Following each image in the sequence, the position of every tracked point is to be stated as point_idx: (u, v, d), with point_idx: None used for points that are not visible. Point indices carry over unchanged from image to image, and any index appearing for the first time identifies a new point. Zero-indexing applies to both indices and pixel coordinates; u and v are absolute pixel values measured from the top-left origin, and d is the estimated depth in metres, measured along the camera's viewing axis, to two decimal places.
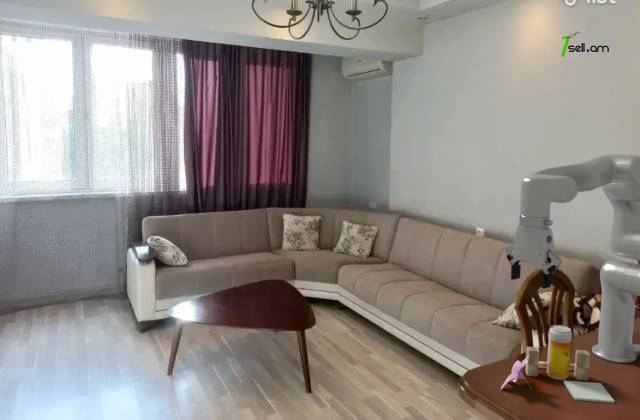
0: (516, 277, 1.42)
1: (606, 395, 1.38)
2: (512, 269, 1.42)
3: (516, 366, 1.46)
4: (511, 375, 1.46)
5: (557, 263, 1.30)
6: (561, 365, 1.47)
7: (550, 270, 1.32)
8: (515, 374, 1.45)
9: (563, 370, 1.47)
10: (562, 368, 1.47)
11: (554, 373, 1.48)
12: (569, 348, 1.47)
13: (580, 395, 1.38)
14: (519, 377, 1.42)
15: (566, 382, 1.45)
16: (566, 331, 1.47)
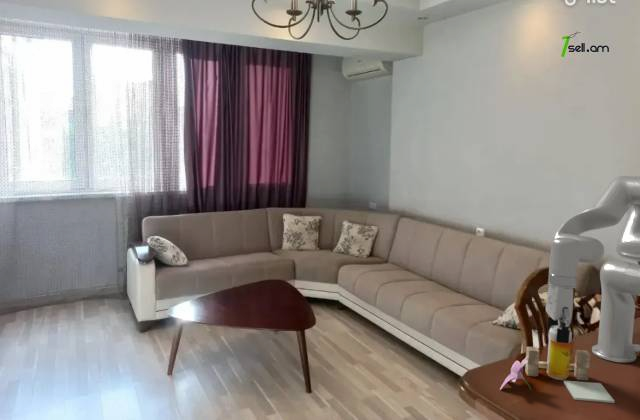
0: None
1: (606, 395, 1.38)
2: None
3: (515, 366, 1.46)
4: (510, 375, 1.46)
5: None
6: (561, 365, 1.47)
7: None
8: (514, 374, 1.45)
9: (563, 370, 1.47)
10: (562, 368, 1.47)
11: (554, 373, 1.48)
12: (569, 348, 1.47)
13: (580, 395, 1.38)
14: (518, 377, 1.42)
15: (566, 382, 1.45)
16: None
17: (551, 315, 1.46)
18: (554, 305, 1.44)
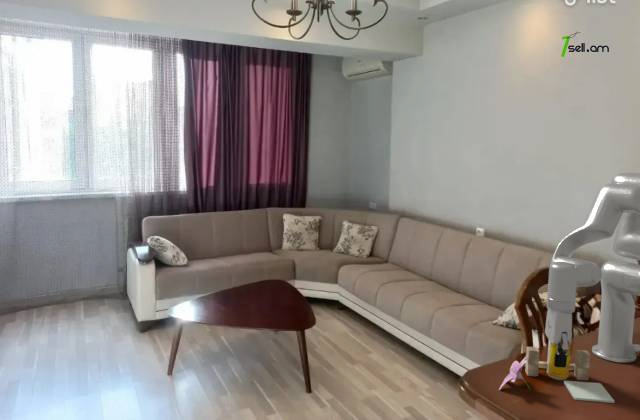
0: None
1: (606, 395, 1.38)
2: None
3: (514, 366, 1.46)
4: (509, 375, 1.46)
5: None
6: None
7: None
8: (513, 374, 1.45)
9: (563, 370, 1.47)
10: (562, 368, 1.47)
11: (554, 373, 1.48)
12: (569, 348, 1.47)
13: (580, 395, 1.38)
14: (517, 377, 1.42)
15: (566, 382, 1.45)
16: None
17: (550, 339, 1.47)
18: (553, 330, 1.45)
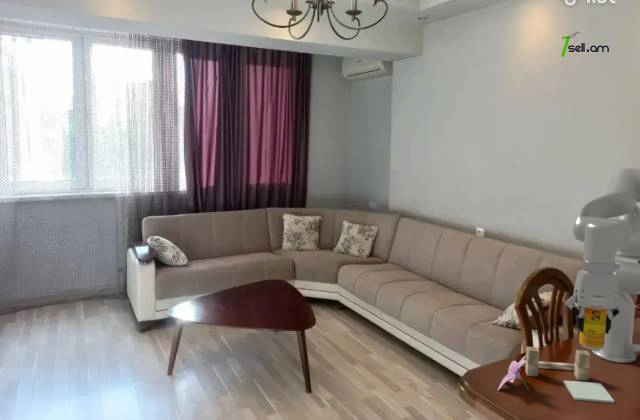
0: None
1: (606, 395, 1.38)
2: (583, 321, 1.37)
3: (513, 366, 1.46)
4: (508, 375, 1.46)
5: (622, 308, 1.36)
6: None
7: (613, 315, 1.36)
8: (512, 374, 1.45)
9: (581, 336, 1.38)
10: (581, 332, 1.38)
11: None
12: (588, 314, 1.36)
13: (580, 395, 1.38)
14: (516, 377, 1.42)
15: (566, 382, 1.45)
16: None
17: None
18: None
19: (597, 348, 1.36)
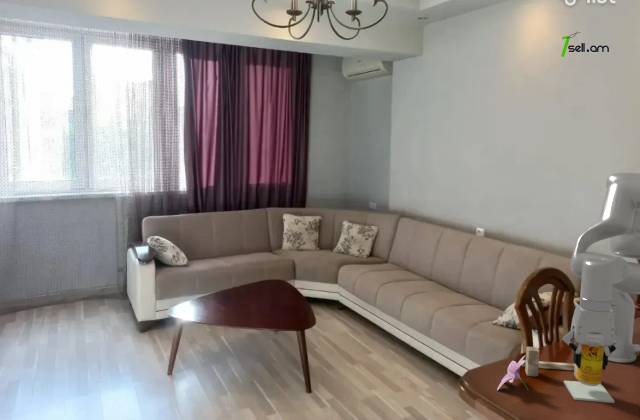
0: None
1: (606, 395, 1.38)
2: (580, 357, 1.38)
3: (512, 366, 1.46)
4: (507, 375, 1.46)
5: (619, 345, 1.37)
6: None
7: (610, 351, 1.38)
8: (511, 374, 1.45)
9: (578, 371, 1.39)
10: (578, 368, 1.40)
11: None
12: (585, 351, 1.37)
13: (580, 395, 1.38)
14: (515, 377, 1.42)
15: (566, 382, 1.45)
16: None
17: None
18: None
19: (594, 384, 1.37)
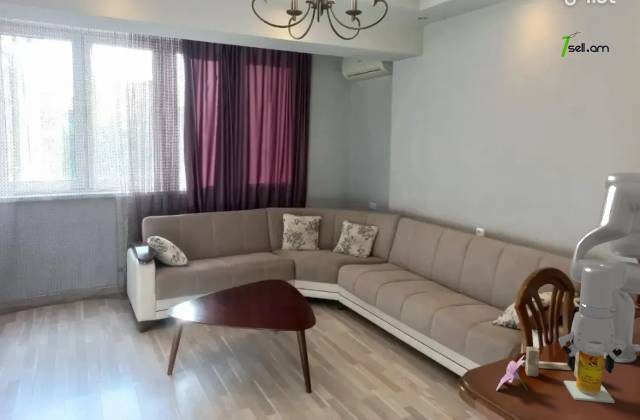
0: None
1: (606, 395, 1.38)
2: (574, 360, 1.39)
3: (511, 366, 1.46)
4: (506, 375, 1.46)
5: (624, 347, 1.37)
6: (577, 374, 1.40)
7: (616, 354, 1.37)
8: (510, 374, 1.45)
9: (578, 380, 1.40)
10: (578, 377, 1.40)
11: None
12: (585, 360, 1.37)
13: (580, 395, 1.38)
14: (514, 377, 1.42)
15: (566, 382, 1.45)
16: None
17: None
18: None
19: (594, 393, 1.38)
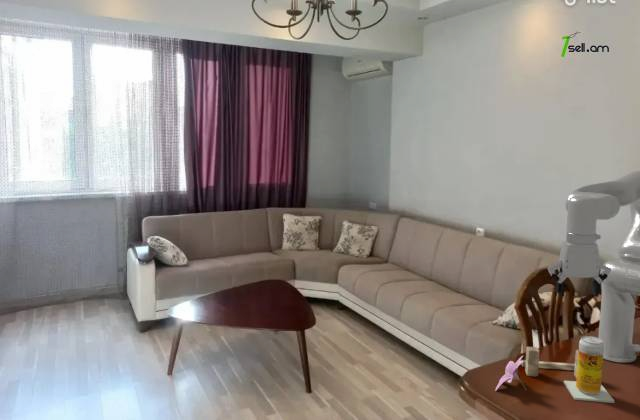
0: None
1: (606, 395, 1.38)
2: (562, 286, 1.47)
3: (510, 366, 1.46)
4: (505, 376, 1.46)
5: (609, 271, 1.45)
6: (577, 374, 1.40)
7: (602, 279, 1.46)
8: (509, 375, 1.45)
9: (578, 380, 1.40)
10: (578, 377, 1.40)
11: None
12: (585, 360, 1.38)
13: (580, 395, 1.38)
14: (513, 378, 1.42)
15: (566, 382, 1.45)
16: (586, 341, 1.38)
17: None
18: None
19: (594, 393, 1.38)
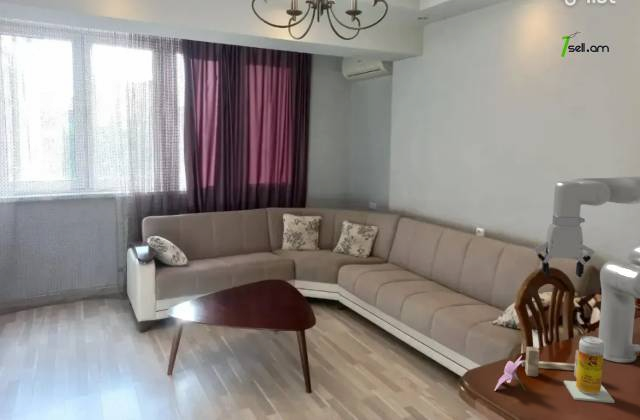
0: None
1: (606, 395, 1.38)
2: (547, 266, 1.56)
3: (509, 366, 1.46)
4: (504, 376, 1.46)
5: (592, 253, 1.54)
6: (577, 374, 1.40)
7: (586, 260, 1.54)
8: (508, 375, 1.45)
9: (578, 380, 1.40)
10: (578, 377, 1.40)
11: None
12: (585, 360, 1.38)
13: (580, 395, 1.38)
14: (512, 378, 1.41)
15: (566, 382, 1.45)
16: (586, 341, 1.38)
17: None
18: None
19: (594, 393, 1.38)
